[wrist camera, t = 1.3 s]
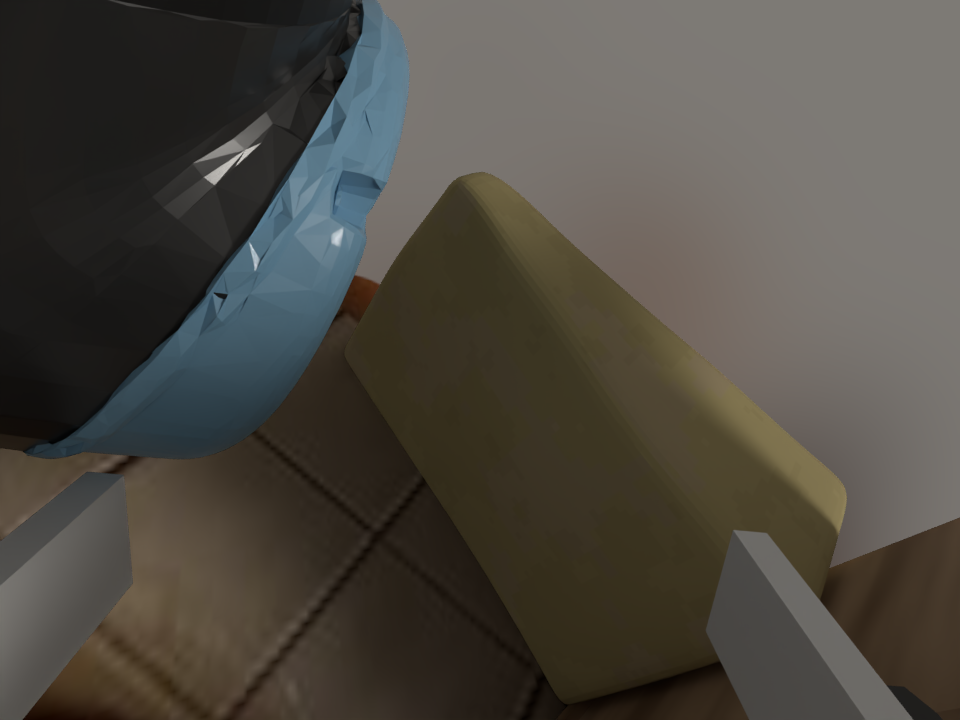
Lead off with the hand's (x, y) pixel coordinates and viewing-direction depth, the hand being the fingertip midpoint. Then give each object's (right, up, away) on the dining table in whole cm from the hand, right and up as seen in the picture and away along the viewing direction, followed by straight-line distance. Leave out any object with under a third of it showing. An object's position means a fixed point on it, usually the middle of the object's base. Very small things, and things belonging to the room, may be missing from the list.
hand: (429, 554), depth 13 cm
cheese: (0, -3, +21) cm, 22 cm away
